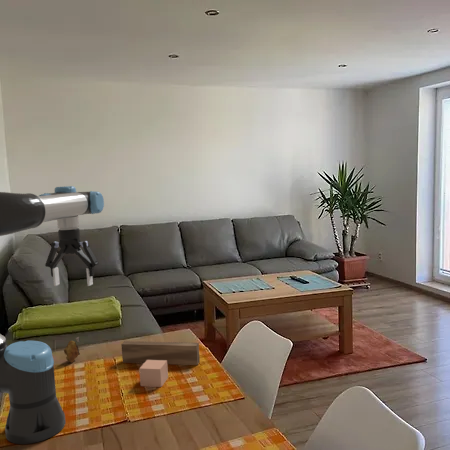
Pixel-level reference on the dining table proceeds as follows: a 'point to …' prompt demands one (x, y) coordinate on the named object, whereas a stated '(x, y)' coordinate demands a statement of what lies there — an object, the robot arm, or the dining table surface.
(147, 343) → the walnut rail
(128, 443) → the dining table surface
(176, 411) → the dining table surface
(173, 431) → the dining table surface
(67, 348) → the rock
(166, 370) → the block
